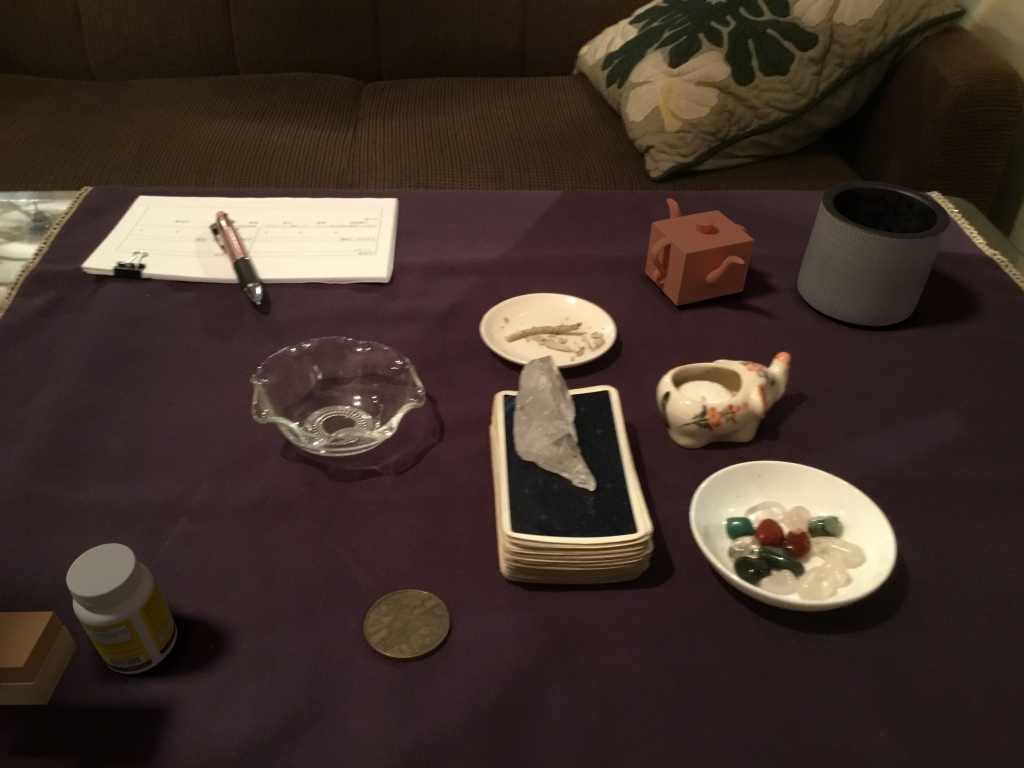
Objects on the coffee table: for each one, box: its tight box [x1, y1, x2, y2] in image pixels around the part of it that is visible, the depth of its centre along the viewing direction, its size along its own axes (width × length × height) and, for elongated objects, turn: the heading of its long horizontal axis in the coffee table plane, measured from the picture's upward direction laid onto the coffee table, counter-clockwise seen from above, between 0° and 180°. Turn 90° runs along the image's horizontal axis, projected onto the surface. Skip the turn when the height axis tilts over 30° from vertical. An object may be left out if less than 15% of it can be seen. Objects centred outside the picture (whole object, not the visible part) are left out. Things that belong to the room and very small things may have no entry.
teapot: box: [644, 197, 755, 307], centre depth 86 cm, size 12×15×8 cm
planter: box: [796, 180, 951, 327], centre depth 84 cm, size 13×12×11 cm
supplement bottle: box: [65, 542, 178, 675], centre depth 51 cm, size 5×5×8 cm
